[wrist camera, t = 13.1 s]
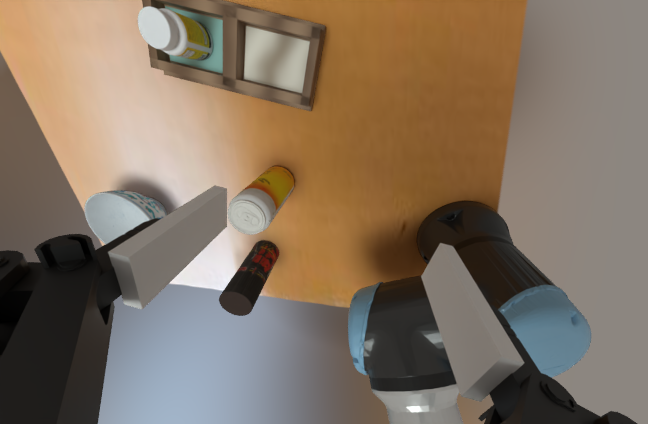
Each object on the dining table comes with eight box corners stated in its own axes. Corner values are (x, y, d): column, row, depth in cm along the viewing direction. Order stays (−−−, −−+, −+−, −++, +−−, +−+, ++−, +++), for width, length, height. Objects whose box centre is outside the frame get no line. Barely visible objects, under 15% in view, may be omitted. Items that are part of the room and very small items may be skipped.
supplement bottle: (188, 13, 32) (138, -10, 25) (218, 35, 33) (177, 18, 26) (179, 48, 35) (131, 36, 27) (208, 68, 35) (168, 61, 28)
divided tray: (326, 27, 32) (322, 20, 29) (311, 110, 37) (307, 112, 34) (161, -13, 33) (139, -25, 29) (169, 74, 38) (151, 73, 35)
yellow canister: (271, 159, 42) (232, 189, 29) (300, 175, 43) (274, 212, 30) (260, 185, 45) (219, 223, 32) (287, 200, 46) (258, 243, 33)
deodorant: (280, 262, 54) (254, 317, 40) (256, 260, 54) (223, 313, 41) (277, 241, 51) (249, 293, 38) (252, 239, 52) (215, 289, 38)
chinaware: (152, 168, 47) (117, 181, 40) (197, 227, 52) (173, 247, 45) (107, 193, 51) (69, 208, 44) (153, 245, 57) (125, 265, 50)
